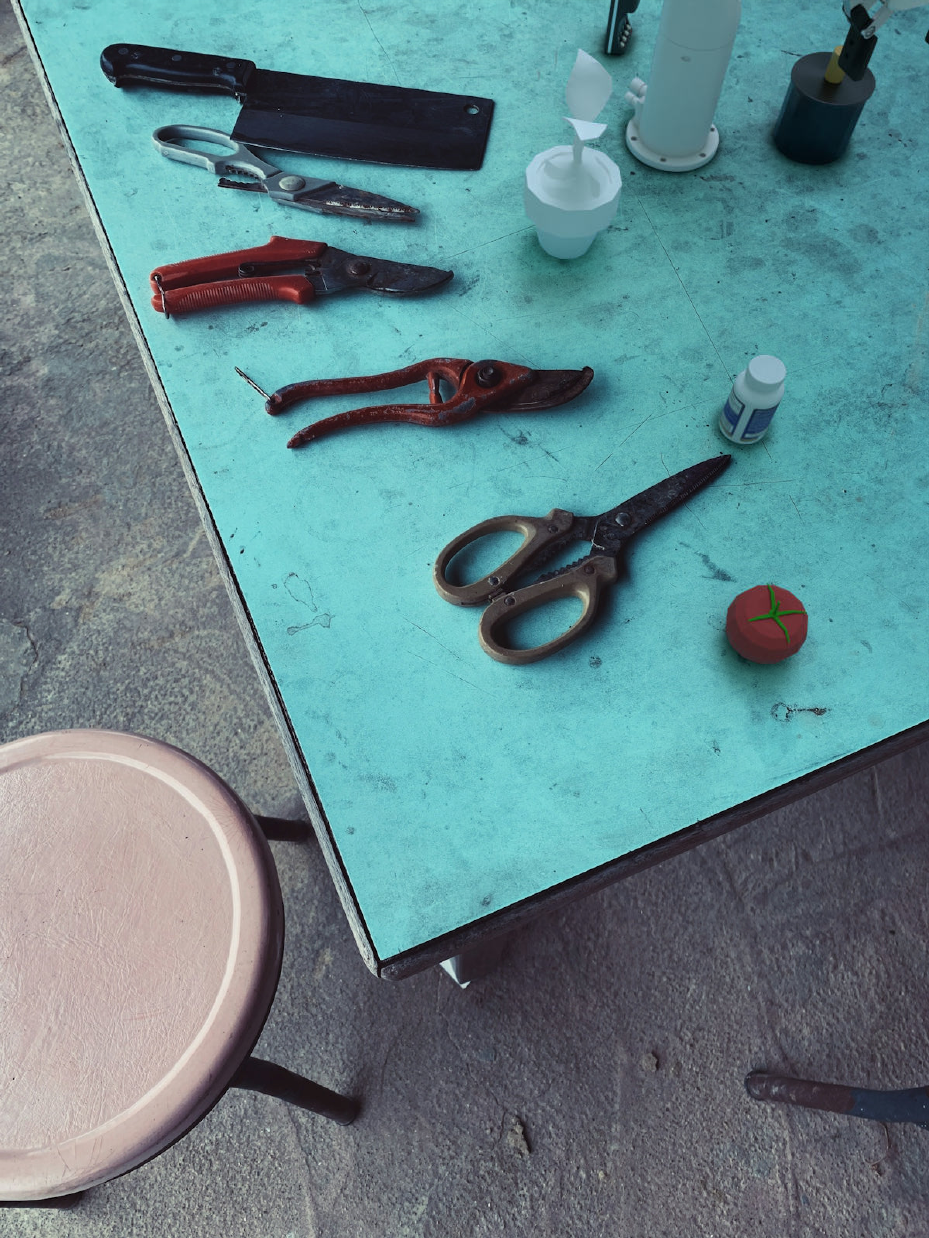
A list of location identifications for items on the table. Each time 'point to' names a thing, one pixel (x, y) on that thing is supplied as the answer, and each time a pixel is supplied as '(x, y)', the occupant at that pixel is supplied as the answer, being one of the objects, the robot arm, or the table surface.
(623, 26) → the battery charger
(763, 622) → the tomato
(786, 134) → the pot
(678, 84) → the robot arm
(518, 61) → the table surface
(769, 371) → the pill bottle
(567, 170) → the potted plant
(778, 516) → the table surface
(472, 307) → the table surface
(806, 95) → the pot lid
